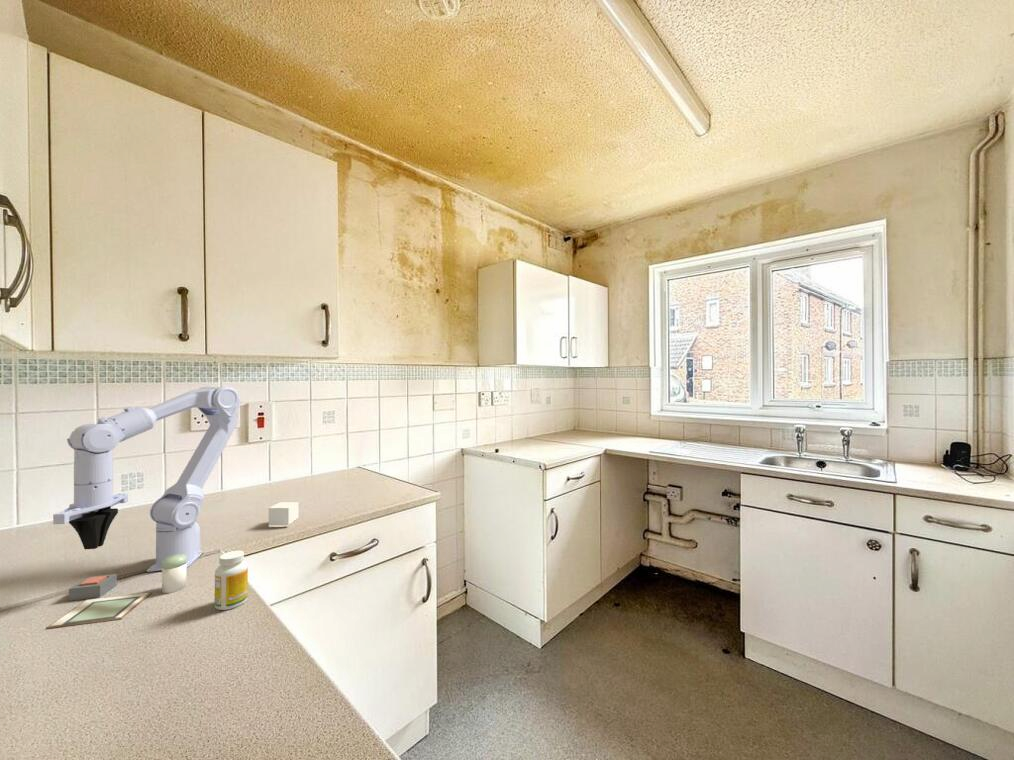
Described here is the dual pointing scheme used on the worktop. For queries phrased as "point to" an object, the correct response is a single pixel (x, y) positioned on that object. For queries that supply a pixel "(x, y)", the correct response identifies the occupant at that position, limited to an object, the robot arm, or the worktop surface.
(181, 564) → the green and cream cylinder
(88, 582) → the button
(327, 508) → the worktop surface
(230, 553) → the supplement bottle
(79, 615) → the picture board
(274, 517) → the white cube
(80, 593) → the button housing
